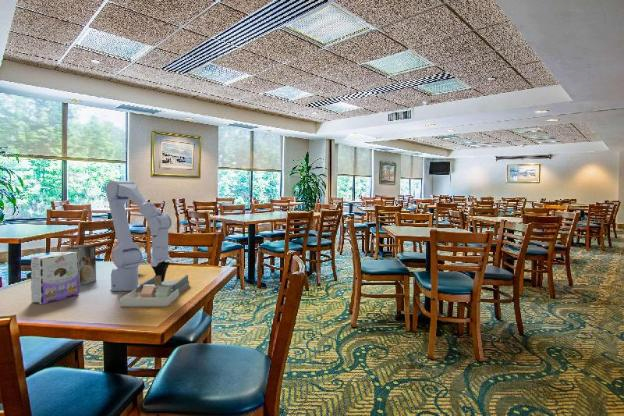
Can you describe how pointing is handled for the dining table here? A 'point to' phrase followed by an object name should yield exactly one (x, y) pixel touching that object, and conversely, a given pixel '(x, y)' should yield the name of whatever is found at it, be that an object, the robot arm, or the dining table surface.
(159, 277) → the pale grey block
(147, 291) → the terracotta tile
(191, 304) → the dining table surface
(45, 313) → the dining table surface
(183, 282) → the plate
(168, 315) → the dining table surface
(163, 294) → the sage tile
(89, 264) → the coffee box
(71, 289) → the candy box
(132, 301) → the box
